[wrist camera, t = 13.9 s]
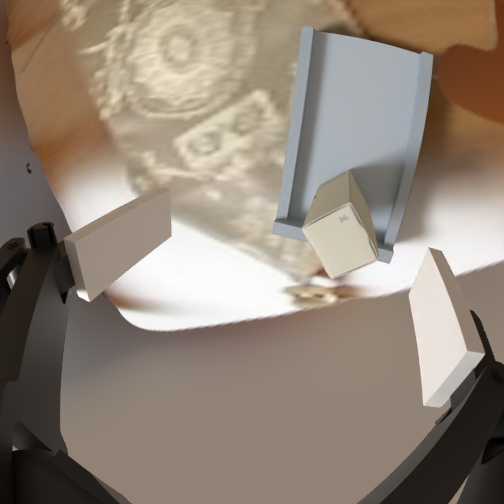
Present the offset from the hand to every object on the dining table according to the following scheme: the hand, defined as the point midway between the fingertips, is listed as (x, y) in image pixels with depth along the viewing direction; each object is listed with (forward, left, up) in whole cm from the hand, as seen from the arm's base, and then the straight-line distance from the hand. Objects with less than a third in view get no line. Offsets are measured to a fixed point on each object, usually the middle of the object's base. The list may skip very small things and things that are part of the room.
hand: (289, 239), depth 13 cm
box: (+3, +3, -20) cm, 21 cm away
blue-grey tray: (-4, +3, -23) cm, 23 cm away
